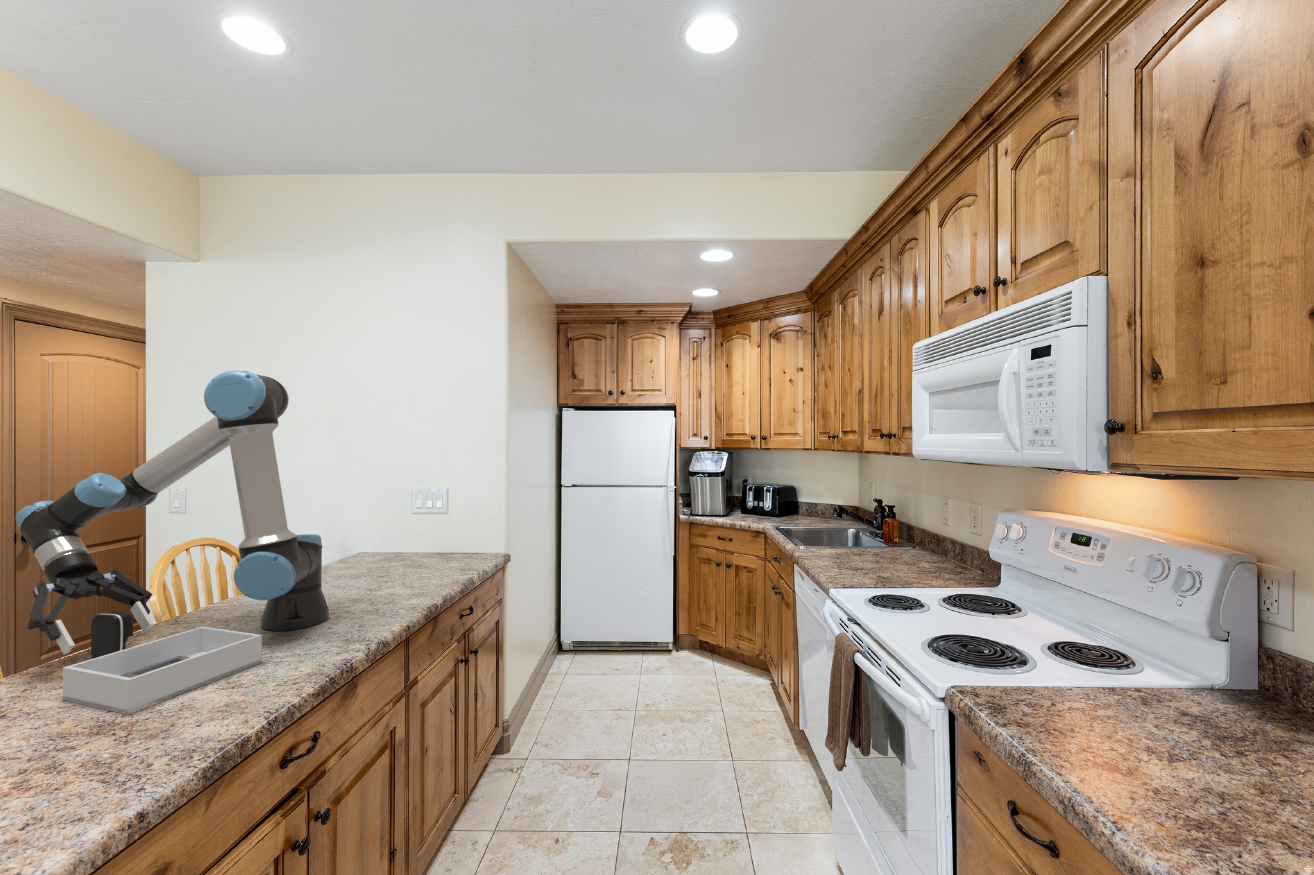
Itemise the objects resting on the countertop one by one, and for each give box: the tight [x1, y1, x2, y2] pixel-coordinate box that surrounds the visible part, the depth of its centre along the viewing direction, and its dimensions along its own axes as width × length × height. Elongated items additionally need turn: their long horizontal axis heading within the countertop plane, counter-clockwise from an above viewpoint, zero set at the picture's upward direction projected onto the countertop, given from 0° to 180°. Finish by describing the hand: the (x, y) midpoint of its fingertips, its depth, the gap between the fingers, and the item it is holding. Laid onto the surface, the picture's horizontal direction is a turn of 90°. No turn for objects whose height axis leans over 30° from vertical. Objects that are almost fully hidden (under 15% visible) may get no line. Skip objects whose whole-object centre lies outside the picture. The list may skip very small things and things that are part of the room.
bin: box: [62, 626, 263, 715], centre depth 112 cm, size 24×18×6 cm
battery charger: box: [90, 611, 135, 660], centre depth 119 cm, size 7×4×11 cm, turn 81°
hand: (111, 638), depth 119 cm, fingers open, 13 cm apart
